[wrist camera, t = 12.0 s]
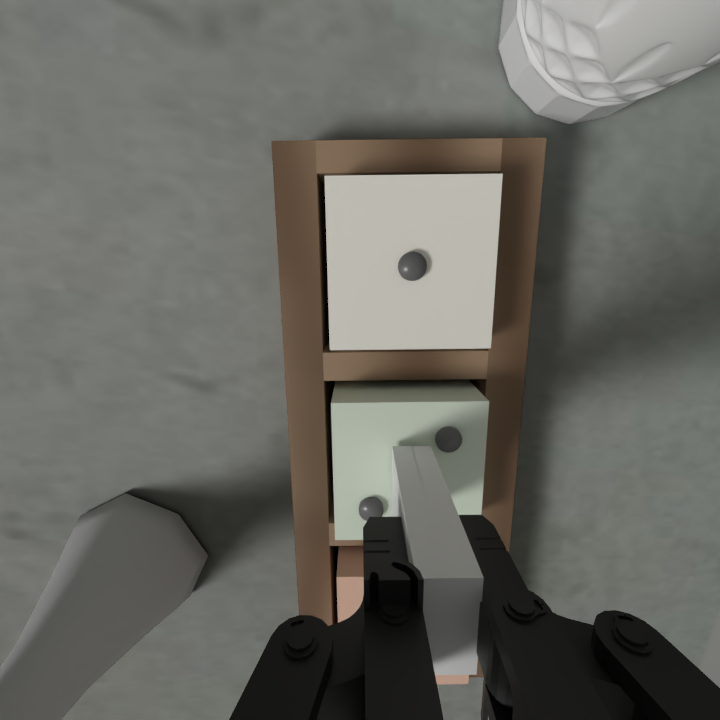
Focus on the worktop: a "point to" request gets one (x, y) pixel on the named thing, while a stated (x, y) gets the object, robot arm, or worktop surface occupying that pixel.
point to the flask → (99, 604)
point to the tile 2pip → (403, 443)
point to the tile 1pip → (412, 260)
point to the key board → (320, 364)
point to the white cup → (603, 51)
